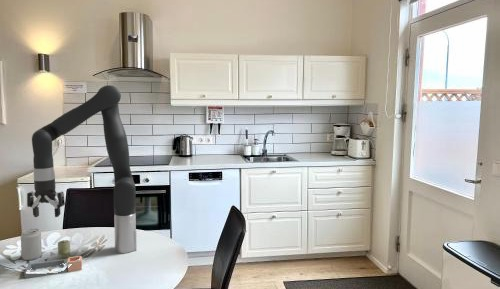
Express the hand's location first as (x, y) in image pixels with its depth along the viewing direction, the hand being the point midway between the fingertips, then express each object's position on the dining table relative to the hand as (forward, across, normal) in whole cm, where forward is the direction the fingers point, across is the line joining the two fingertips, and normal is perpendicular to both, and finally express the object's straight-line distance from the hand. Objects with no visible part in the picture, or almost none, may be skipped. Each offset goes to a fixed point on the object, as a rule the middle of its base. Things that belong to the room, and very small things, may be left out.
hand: (46, 216), depth 147 cm
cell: (+20, -5, -2) cm, 21 cm away
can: (+20, +10, -4) cm, 22 cm away
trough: (+20, -3, +8) cm, 21 cm away
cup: (+20, -13, +6) cm, 25 cm away
